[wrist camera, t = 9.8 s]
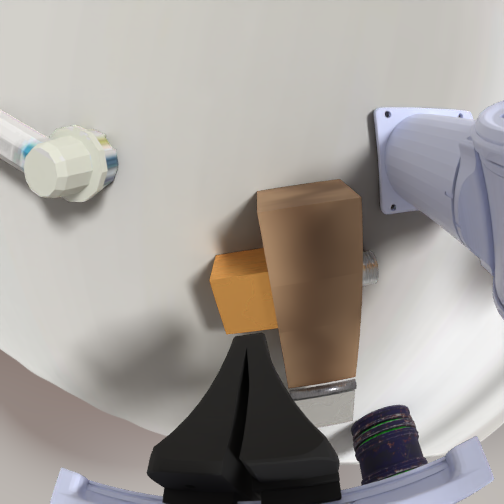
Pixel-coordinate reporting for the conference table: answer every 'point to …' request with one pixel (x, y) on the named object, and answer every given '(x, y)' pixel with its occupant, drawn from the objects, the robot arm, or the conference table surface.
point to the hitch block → (315, 277)
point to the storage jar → (386, 443)
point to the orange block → (255, 289)
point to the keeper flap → (327, 402)
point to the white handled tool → (59, 159)
